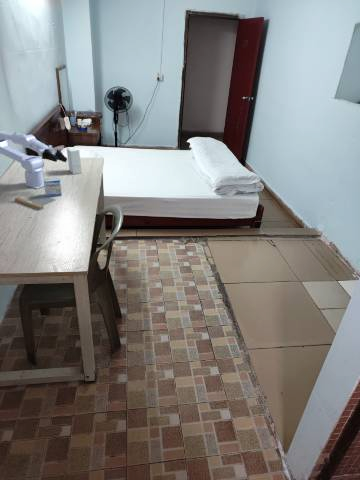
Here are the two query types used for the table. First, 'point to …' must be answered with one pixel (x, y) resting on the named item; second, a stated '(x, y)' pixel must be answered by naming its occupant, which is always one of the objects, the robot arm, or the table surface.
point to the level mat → (36, 201)
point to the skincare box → (74, 160)
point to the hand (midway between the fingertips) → (61, 160)
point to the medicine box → (52, 187)
